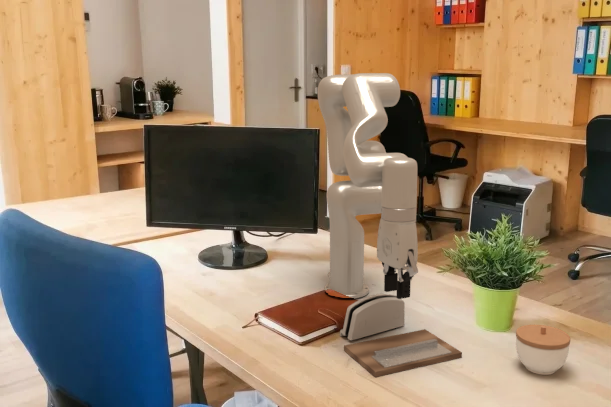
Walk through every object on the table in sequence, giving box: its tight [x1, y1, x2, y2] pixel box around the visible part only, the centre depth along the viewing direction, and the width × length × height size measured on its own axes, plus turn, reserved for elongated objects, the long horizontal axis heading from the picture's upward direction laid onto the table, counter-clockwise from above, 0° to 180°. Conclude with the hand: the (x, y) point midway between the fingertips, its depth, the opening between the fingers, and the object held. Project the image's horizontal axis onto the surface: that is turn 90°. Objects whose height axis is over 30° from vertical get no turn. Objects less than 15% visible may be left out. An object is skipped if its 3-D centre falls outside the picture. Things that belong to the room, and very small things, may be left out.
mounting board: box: [343, 328, 463, 378], centre depth 139 cm, size 14×22×1 cm, turn 114°
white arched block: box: [339, 293, 406, 341], centre depth 150 cm, size 17×5×10 cm, turn 123°
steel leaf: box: [371, 339, 451, 368], centre depth 136 cm, size 6×17×1 cm, turn 114°
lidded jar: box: [515, 324, 571, 376], centre depth 132 cm, size 11×11×9 cm
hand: (396, 293), depth 139 cm, fingers open, 4 cm apart
